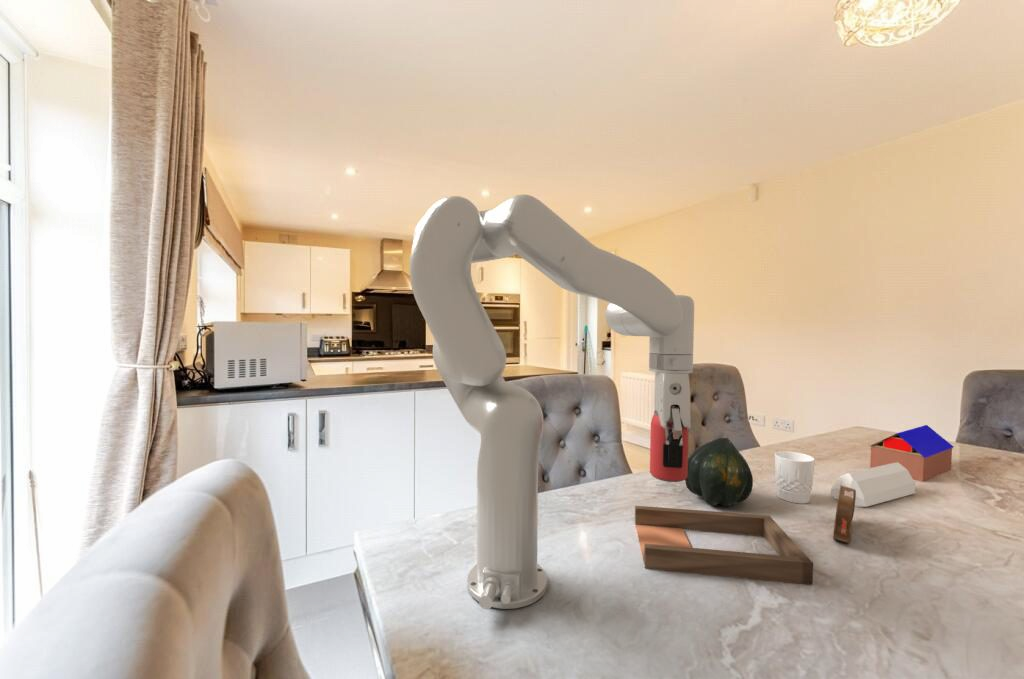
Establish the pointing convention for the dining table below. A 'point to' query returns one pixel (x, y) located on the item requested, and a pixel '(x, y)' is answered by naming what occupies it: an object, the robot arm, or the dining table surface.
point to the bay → (674, 553)
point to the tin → (844, 514)
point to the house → (914, 452)
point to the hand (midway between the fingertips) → (668, 459)
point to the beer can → (657, 453)
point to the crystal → (877, 484)
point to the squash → (719, 473)
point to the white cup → (794, 476)
